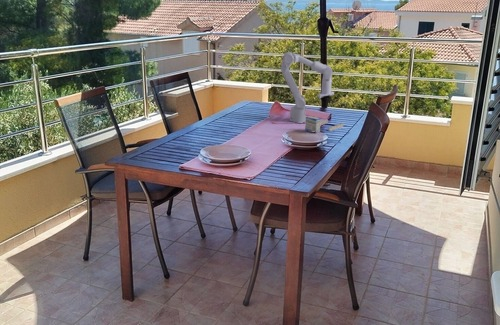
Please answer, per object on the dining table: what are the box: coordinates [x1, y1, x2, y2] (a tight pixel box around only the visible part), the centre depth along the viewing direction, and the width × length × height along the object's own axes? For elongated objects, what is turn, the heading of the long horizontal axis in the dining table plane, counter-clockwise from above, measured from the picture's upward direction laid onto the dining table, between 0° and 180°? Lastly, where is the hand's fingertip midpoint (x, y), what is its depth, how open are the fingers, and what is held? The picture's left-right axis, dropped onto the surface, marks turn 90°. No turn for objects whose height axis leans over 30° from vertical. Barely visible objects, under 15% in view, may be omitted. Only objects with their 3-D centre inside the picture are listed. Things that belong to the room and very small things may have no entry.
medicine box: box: [304, 115, 322, 133], centre depth 291 cm, size 8×4×9 cm, turn 49°
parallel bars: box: [320, 119, 344, 132], centre depth 302 cm, size 13×14×2 cm
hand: (325, 107), depth 309 cm, fingers closed
